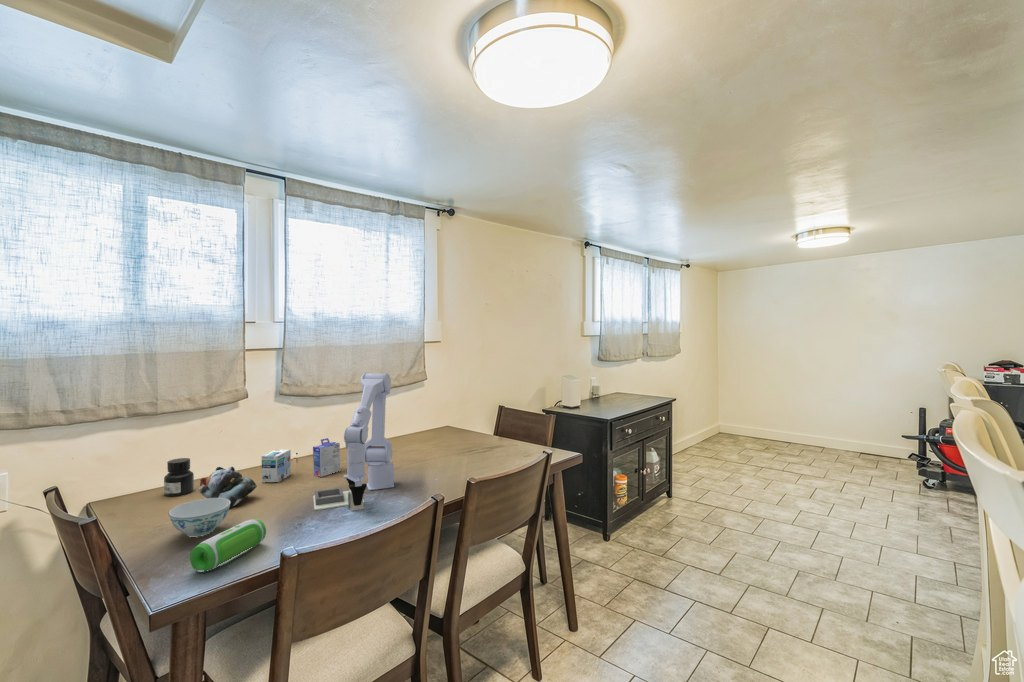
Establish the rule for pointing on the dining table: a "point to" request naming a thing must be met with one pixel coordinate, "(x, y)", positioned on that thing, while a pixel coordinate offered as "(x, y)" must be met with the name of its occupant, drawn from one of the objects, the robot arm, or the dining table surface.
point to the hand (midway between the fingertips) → (356, 501)
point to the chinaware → (199, 515)
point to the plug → (351, 504)
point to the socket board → (330, 499)
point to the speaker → (227, 544)
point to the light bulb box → (276, 465)
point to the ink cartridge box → (326, 458)
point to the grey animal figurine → (226, 485)
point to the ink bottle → (178, 477)
